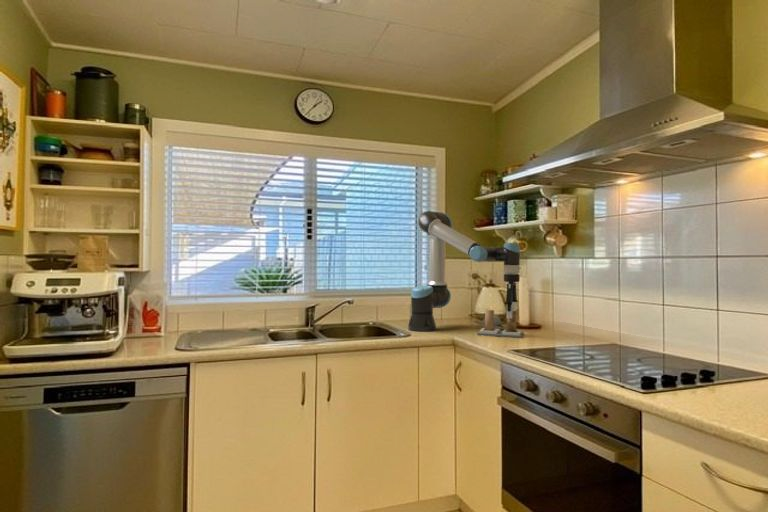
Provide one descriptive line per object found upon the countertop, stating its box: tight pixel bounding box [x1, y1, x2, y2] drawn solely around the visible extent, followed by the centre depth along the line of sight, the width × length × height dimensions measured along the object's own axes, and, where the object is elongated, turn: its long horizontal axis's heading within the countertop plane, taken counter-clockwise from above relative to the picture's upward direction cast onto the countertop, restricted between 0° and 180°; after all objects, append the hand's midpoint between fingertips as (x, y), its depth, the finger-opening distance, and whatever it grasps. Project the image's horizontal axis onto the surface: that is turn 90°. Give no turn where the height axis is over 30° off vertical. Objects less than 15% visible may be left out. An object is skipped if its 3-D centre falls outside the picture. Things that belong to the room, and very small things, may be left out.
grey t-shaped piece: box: [476, 309, 525, 339], centre depth 221 cm, size 21×12×12 cm, turn 66°
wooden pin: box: [506, 310, 518, 332], centre depth 219 cm, size 4×4×11 cm
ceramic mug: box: [482, 313, 504, 331], centre depth 239 cm, size 11×8×8 cm
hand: (511, 316), depth 219 cm, fingers open, 13 cm apart
